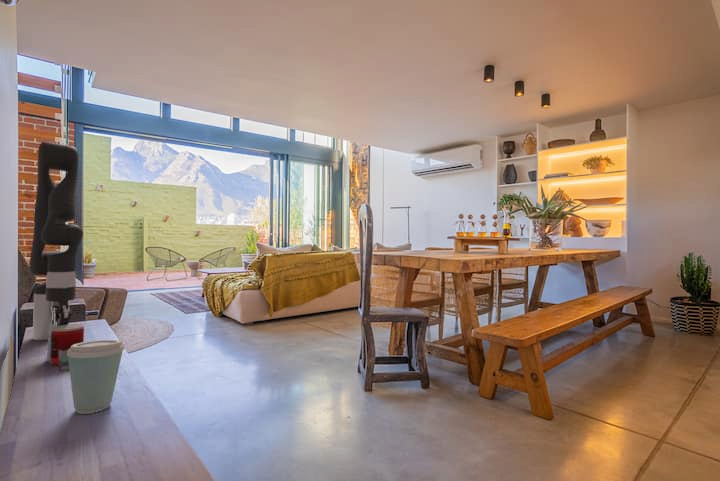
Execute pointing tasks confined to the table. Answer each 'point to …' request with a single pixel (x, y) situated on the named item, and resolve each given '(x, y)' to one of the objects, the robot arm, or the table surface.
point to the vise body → (63, 360)
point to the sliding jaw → (49, 349)
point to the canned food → (65, 339)
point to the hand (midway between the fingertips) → (59, 339)
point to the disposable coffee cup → (94, 373)
